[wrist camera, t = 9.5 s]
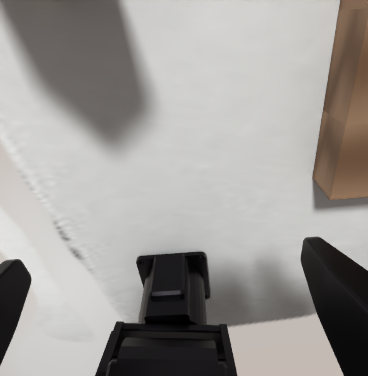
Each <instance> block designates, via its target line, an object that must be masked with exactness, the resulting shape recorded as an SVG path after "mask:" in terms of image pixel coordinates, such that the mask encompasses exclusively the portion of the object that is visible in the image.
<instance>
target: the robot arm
mask: <svg viewBox="0 0 368 376" xmlns="http://www.w3.org/2000/svg"><path fill="white" fill-rule="evenodd" d="M142 261H143V262H142ZM136 264H137V267H138V271H139V274H140V277H141V281H142V284H143V287H144V291H143V297H142V303H141V309H140V315H139V321H138V323H124V322H118V321H117V322H116V324H115V327H114V330H113V331H112V332H111V334H110V337H109V340H108V343H107V345H106V348H105V350H104V353H103V356H102V358H101V361H100V364H99V367H98V369H97V372H96V375H95V376H237V372H236V367H235V362H234V357H233V353H232V348H231V343H230V338H229V334H228V329H227V324H219V325H207V322H206V306H205V300H206V299H209V298H210V292H209V282H208V273H207V263H206V255H205V253H204V252H188V253H174V254H161V255H147V256H139V257H138V258H137V261H136ZM301 264H302V267H303V271H304V274H305V277H306V280H307V283H308V287H309V290H310V293H311V296H312V300H313V303H314V306H315V309H316V312H317V314H318V317H319V319H320V322H321V324H322V326H323V329H324V331H325V333H326V336H327V338H328V340H329V342H330V345H331V347H332V349H333V352H334V354H335V356H336V358H337V361H338V363H339V365H340V368H341V370H342V372H343V375H344V376H368V271H367V270H366V269H365V268H363V267H362V266H360V265H359V264H357V263H356V262H355V261H353V260H352V259H350V258H349V257H347V256H346V255H345V254H343V253H342V252H340V251H339V250H337V249H336V248H335V247H333V246H332V245H330V244H329V243H327V242H326V241H325V240H323V239H322V238H320V237H307V238H305V239H304V241H303V246H302V252H301ZM30 285H31V275H30V274H29V272H28V270H27V269H26V267H25V265H24V264H23V262H22V261H21V260H19V259H14V260H6V261H4V262H2V263H1V264H0V365H1V363H2V360H3V358H4V356H5V353H6V351H7V349H8V346H9V344H10V342H11V339H12V337H13V335H14V332H15V330H16V327H17V324H18V321H19V318H20V315H21V312H22V309H23V306H24V303H25V300H26V297H27V294H28V291H29V288H30Z"/></svg>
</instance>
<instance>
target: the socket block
mask: <svg viewBox="0 0 368 376" xmlns="http://www.w3.org/2000/svg"><path fill="white" fill-rule="evenodd" d="M313 179H314V180H315V182H316V183H317V184H318V185H319V187H320V188H321V189H322V190H323V192H324V193H325V194H326V195H327V197H328V198H329V199H330V200H335V199H347V198H359V197H368V0H341V1H340V7H339V14H338V20H337V26H336V33H335V39H334V45H333V52H332V58H331V64H330V71H329V77H328V83H327V89H326V96H325V102H324V108H323V115H322V121H321V127H320V134H319V140H318V146H317V153H316V159H315V165H314V172H313Z"/></svg>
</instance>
